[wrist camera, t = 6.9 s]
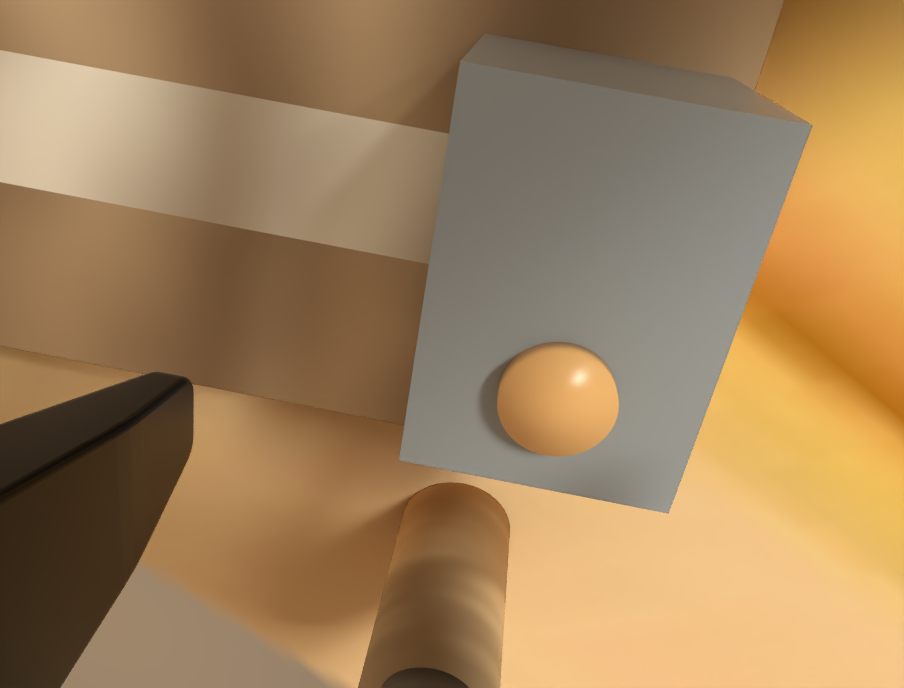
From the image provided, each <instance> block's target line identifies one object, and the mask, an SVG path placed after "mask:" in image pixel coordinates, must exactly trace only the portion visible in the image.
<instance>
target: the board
mask: <svg viewBox="0 0 904 688" xmlns="http://www.w3.org/2000/svg"><path fill="white" fill-rule="evenodd" d="M783 3H784V0H0V346H4V347H10V348H15V349H20V350H25V351H30V352H35V353H40V354H45V355H50V356H55V357H60V358H65V359H71V360H76V361H81V362H86V363H91V364H96V365H101V366H106V367H111V368H116V369H121V370H126V371H131V372H137V373H142V374H148V373H151V372H164V373H169V374H174V375H179V376H184V377H187V378H188V379H189V380H190V381H191V382H192V384H197V385H203V386H208V387H213V388H218V389H223V390H228V391H233V392H238V393H243V394H248V395H253V396H258V397H263V398H269V399H274V400H279V401H284V402H289V403H294V404H299V405H304V406H309V407H314V408H319V409H324V410H329V411H335V412H340V413H345V414H350V415H355V416H360V417H365V418H370V419H375V420H380V421H385V422H390V423H395V424H401V425H404V424H405V417H406V411H407V404H408V398H409V391H410V385H411V378H412V372H413V365H414V359H415V352H416V346H417V339H418V333H419V326H420V320H421V313H422V307H423V300H424V294H425V287H426V280H427V274H428V267H429V261H430V254H431V248H432V241H433V235H434V228H435V222H436V215H437V209H438V202H439V196H440V189H441V183H442V176H443V170H444V163H445V157H446V150H447V144H448V137H449V131H450V124H451V118H452V111H453V105H454V98H455V91H456V85H457V78H458V72H459V65H460V61H461V60H462V59H463V57H464V56H465V55H466V54H467V53H468V52H469V51H470V50H471V48H472V47H473V46H474V45H475V44H476V43H477V42H478V41H479V39H480V38H481V37H482V36H483V35H484V34H485V33H487V34H492V35H498V36H503V37H509V38H514V39H520V40H525V41H531V42H537V43H542V44H548V45H553V46H559V47H564V48H570V49H575V50H581V51H586V52H592V53H597V54H603V55H608V56H614V57H620V58H625V59H631V60H636V61H642V62H647V63H653V64H658V65H664V66H669V67H675V68H680V69H686V70H692V71H697V72H703V73H708V74H714V75H719V76H725V77H730V78H734V79H736V80H737V81H739V82H741V83H742V84H744V85H746V86H747V87H749V88H751V89H752V90H754V91H755V88H756V85H757V82H758V79H759V75H760V72H761V69H762V66H763V63H764V60H765V57H766V54H767V51H768V48H769V45H770V42H771V39H772V36H773V33H774V30H775V27H776V24H777V21H778V18H779V15H780V12H781V9H782V6H783Z"/></svg>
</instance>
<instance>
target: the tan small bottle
mask: <svg viewBox="0 0 904 688" xmlns="http://www.w3.org/2000/svg"><path fill="white" fill-rule="evenodd" d="M509 535H510V525H509V520H508V517H507V514H506V512H505V510H504V509H503V507H502V506H501V505H500V503H499V502H498V501H497V500H496V499H495V498H493V497H492V496H491V495H490V494H488V493H486V492H485V491H483V490H481V489H479V488H476V487H474V486H471V485H467V484H462V483H441V484H436V485H433V486H429V487H427V488H425V489H423V490H421V491H420V492H418V493H417V494H416V495H414V496H413V497H412V499H411V500H410V501H409V502H408V504H407V505H406V508H405V510H404V513H403V517H402V521H401V525H400V528H399V532H398V536H397V540H396V544H395V548H394V552H393V555H392V559H391V563H390V567H389V571H388V575H387V578H386V582H385V586H384V590H383V594H382V598H381V602H380V605H379V609H378V613H377V617H376V621H375V625H374V629H373V632H372V636H371V640H370V644H369V648H368V652H367V655H366V659H365V663H364V667H363V671H362V675H361V679H360V682H359V686H358V688H500V678H501V662H502V646H503V630H504V615H505V599H506V583H507V567H508V551H509Z"/></svg>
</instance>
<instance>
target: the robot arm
mask: <svg viewBox="0 0 904 688" xmlns="http://www.w3.org/2000/svg"><path fill="white" fill-rule="evenodd" d="M192 444H193V386H192V382H191V381H190V380H189V379H188V378H187V377H184V376H179V375H174V374H169V373H164V372H151V373H148V374H145V375H142V376H139V377H136V378H133V379H130V380H128V381H125V382H122V383H119V384H116V385H113V386H110V387H107V388H104V389H101V390H99V391H96V392H93V393H90V394H87V395H84V396H81V397H78V398H75V399H72V400H70V401H67V402H64V403H61V404H58V405H55V406H52V407H49V408H46V409H43V410H40V411H38V412H35V413H32V414H29V415H26V416H23V417H20V418H17V419H14V420H11V421H9V422H6V423H3V424H0V688H60V687H61V686H62V684H63V683H64V681H65V679H66V678H67V676H68V675H69V673H70V672H71V670H72V668H73V667H74V665H75V663H76V662H77V660H78V659H79V657H80V656H81V654H82V653H83V651H84V649H85V648H86V646H87V645H88V643H89V642H90V640H91V638H92V637H93V635H94V634H95V632H96V631H97V629H98V627H99V626H100V624H101V623H102V621H103V619H104V618H105V616H106V615H107V613H108V611H109V610H110V608H111V607H112V605H113V604H114V602H115V600H116V599H117V597H118V596H119V594H120V593H121V591H122V589H123V588H124V586H125V585H126V583H127V581H128V579H129V578H130V576H131V574H132V573H133V571H134V569H135V568H136V566H137V564H138V562H139V560H140V558H141V556H142V554H143V552H144V550H145V548H146V546H147V544H148V542H149V540H150V538H151V536H152V533H153V531H154V529H155V527H156V525H157V523H158V521H159V519H160V517H161V515H162V513H163V511H164V508H165V506H166V504H167V502H168V500H169V498H170V496H171V494H172V492H173V490H174V488H175V485H176V483H177V481H178V479H179V477H180V475H181V473H182V471H183V469H184V467H185V465H186V463H187V460H188V458H189V456H190V453H191V449H192Z"/></svg>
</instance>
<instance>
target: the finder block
mask: <svg viewBox="0 0 904 688" xmlns="http://www.w3.org/2000/svg"><path fill="white" fill-rule="evenodd" d="M811 128H812V125H811V124H810V123H808V122H806V121H805V120H803V119H801V118H800V117H798V116H796V115H795V114H793V113H791V112H789V111H788V110H786V109H784V108H783V107H781V106H779V105H778V104H776V103H774V102H773V101H771V100H769V99H768V98H766V97H764V96H763V95H761V94H759V93H757V92H756V91H754V90H752V89H751V88H749V87H747V86H746V85H744V84H742V83H741V82H739V81H737V80H736V79H734V78H730V77H725V76H719V75H714V74H708V73H703V72H697V71H692V70H686V69H680V68H675V67H669V66H664V65H658V64H653V63H647V62H642V61H636V60H631V59H625V58H620V57H614V56H608V55H603V54H597V53H592V52H586V51H581V50H575V49H570V48H564V47H559V46H553V45H548V44H542V43H537V42H531V41H525V40H520V39H514V38H509V37H503V36H498V35H492V34H487V33H485V34H484V35H483V36H482V37H481V38H480V39H479V41H478V42H477V43H476V44H475V45H474V46H473V47H472V48H471V50H470V51H469V52H468V53H467V54H466V55H465V56H464V57H463V59H462V60H461V61H460V65H459V72H458V78H457V85H456V91H455V98H454V105H453V111H452V118H451V124H450V131H449V137H448V144H447V150H446V157H445V163H444V170H443V176H442V183H441V189H440V196H439V202H438V209H437V215H436V222H435V228H434V235H433V241H432V248H431V254H430V261H429V267H428V274H427V280H426V287H425V294H424V300H423V307H422V313H421V320H420V326H419V333H418V339H417V346H416V352H415V359H414V365H413V372H412V378H411V385H410V391H409V398H408V404H407V411H406V417H405V424H404V430H403V437H402V443H401V450H400V456H399V461H404V462H409V463H414V464H419V465H424V466H429V467H434V468H439V469H445V470H450V471H455V472H460V473H465V474H470V475H475V476H480V477H485V478H490V479H495V480H501V481H506V482H511V483H516V484H521V485H526V486H531V487H536V488H541V489H546V490H551V491H557V492H562V493H567V494H572V495H577V496H582V497H587V498H592V499H597V500H602V501H607V502H613V503H618V504H623V505H628V506H633V507H638V508H643V509H648V510H653V511H658V512H663V513H669V511H670V508H671V505H672V503H673V500H674V497H675V495H676V492H677V489H678V486H679V484H680V481H681V478H682V476H683V473H684V470H685V468H686V465H687V462H688V459H689V457H690V454H691V451H692V449H693V446H694V443H695V441H696V438H697V435H698V433H699V430H700V427H701V424H702V422H703V419H704V416H705V414H706V411H707V408H708V406H709V403H710V400H711V397H712V395H713V392H714V389H715V387H716V384H717V381H718V379H719V376H720V373H721V370H722V368H723V365H724V362H725V360H726V357H727V354H728V352H729V349H730V346H731V344H732V341H733V338H734V335H735V333H736V330H737V327H738V325H739V322H740V319H741V317H742V314H743V311H744V308H745V306H746V303H747V300H748V298H749V295H750V292H751V290H752V287H753V284H754V282H755V279H756V276H757V273H758V271H759V268H760V265H761V263H762V260H763V257H764V255H765V252H766V249H767V246H768V244H769V241H770V238H771V236H772V233H773V230H774V228H775V225H776V222H777V219H778V217H779V214H780V211H781V209H782V206H783V203H784V201H785V198H786V195H787V193H788V190H789V187H790V184H791V182H792V179H793V176H794V174H795V171H796V168H797V166H798V163H799V160H800V157H801V155H802V152H803V149H804V147H805V144H806V141H807V139H808V136H809V133H810V131H811Z"/></svg>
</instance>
